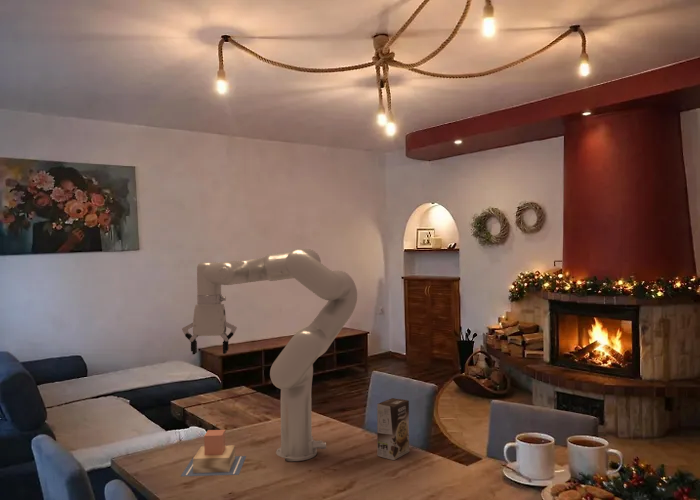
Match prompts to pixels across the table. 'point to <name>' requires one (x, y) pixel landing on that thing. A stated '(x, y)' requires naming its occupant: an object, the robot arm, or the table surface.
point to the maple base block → (214, 461)
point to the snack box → (392, 428)
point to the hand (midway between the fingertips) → (209, 353)
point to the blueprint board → (233, 471)
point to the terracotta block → (214, 442)
